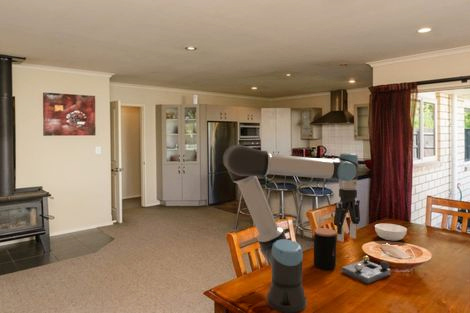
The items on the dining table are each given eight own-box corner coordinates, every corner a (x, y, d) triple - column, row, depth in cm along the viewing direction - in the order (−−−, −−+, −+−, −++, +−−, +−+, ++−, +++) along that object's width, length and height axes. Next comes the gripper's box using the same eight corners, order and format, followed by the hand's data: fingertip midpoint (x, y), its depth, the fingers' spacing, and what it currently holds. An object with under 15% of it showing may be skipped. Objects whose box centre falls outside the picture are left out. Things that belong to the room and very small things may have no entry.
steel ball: (359, 273, 149) (359, 265, 149) (353, 270, 152) (353, 263, 151) (364, 271, 151) (364, 264, 150) (357, 268, 153) (358, 261, 153)
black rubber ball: (385, 271, 151) (386, 263, 151) (378, 268, 154) (378, 260, 154) (390, 269, 153) (391, 261, 153) (383, 266, 156) (383, 258, 156)
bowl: (377, 232, 218) (378, 221, 217) (408, 237, 207) (409, 226, 207) (371, 239, 203) (371, 228, 203) (403, 245, 192) (404, 233, 192)
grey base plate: (367, 283, 144) (367, 278, 144) (341, 272, 156) (342, 267, 155) (390, 274, 153) (390, 269, 153) (364, 264, 165) (364, 259, 164)
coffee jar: (336, 272, 156) (337, 235, 154) (313, 270, 158) (314, 233, 157) (334, 263, 166) (335, 228, 165) (313, 261, 168) (313, 227, 167)
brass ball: (366, 263, 160) (366, 257, 160) (361, 261, 162) (361, 255, 162) (370, 262, 161) (370, 256, 161) (365, 260, 164) (365, 254, 164)
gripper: (339, 192, 135) (337, 246, 136) (370, 187, 146) (368, 237, 147) (325, 189, 141) (324, 241, 143) (355, 185, 152) (354, 233, 154)
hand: (346, 239), depth 145 cm, fingers open, 8 cm apart
